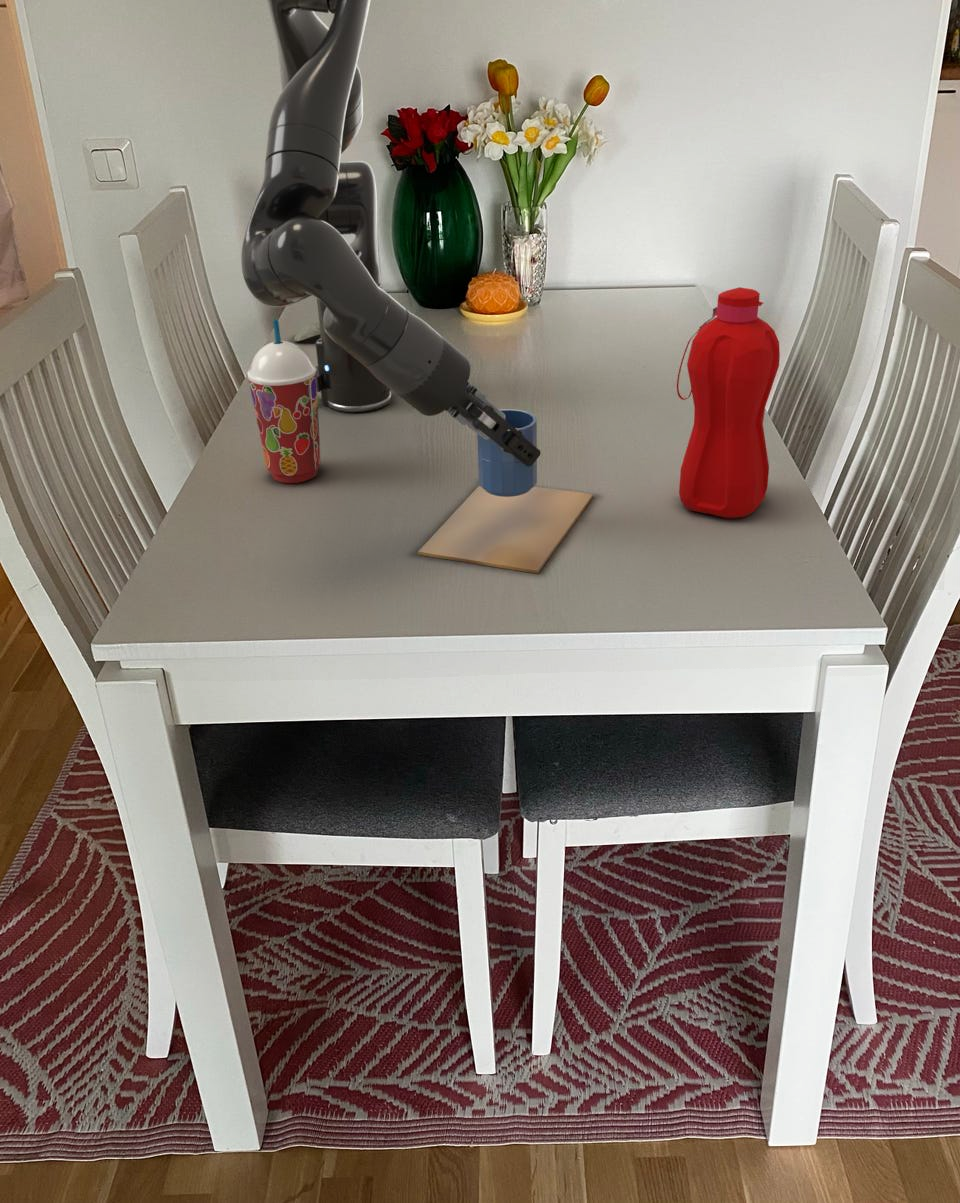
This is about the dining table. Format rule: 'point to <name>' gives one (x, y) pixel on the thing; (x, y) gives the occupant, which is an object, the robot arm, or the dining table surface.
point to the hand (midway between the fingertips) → (520, 447)
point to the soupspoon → (308, 331)
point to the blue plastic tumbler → (507, 460)
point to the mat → (508, 528)
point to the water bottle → (729, 408)
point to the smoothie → (286, 409)
